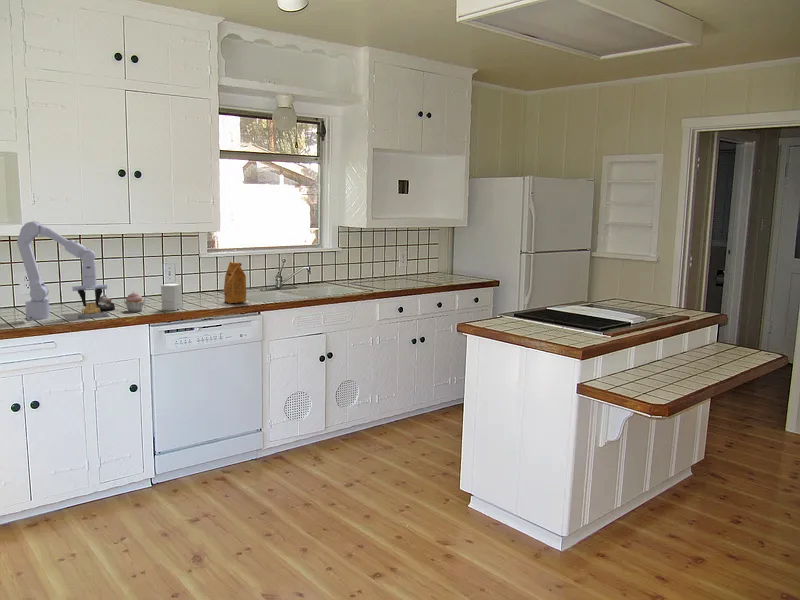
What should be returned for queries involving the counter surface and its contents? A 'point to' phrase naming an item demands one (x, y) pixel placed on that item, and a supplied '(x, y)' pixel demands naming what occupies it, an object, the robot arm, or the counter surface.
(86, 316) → the carrier
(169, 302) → the supplement box
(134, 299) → the cupcake
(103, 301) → the caster wheel
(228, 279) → the coffee package
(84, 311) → the planet gear
